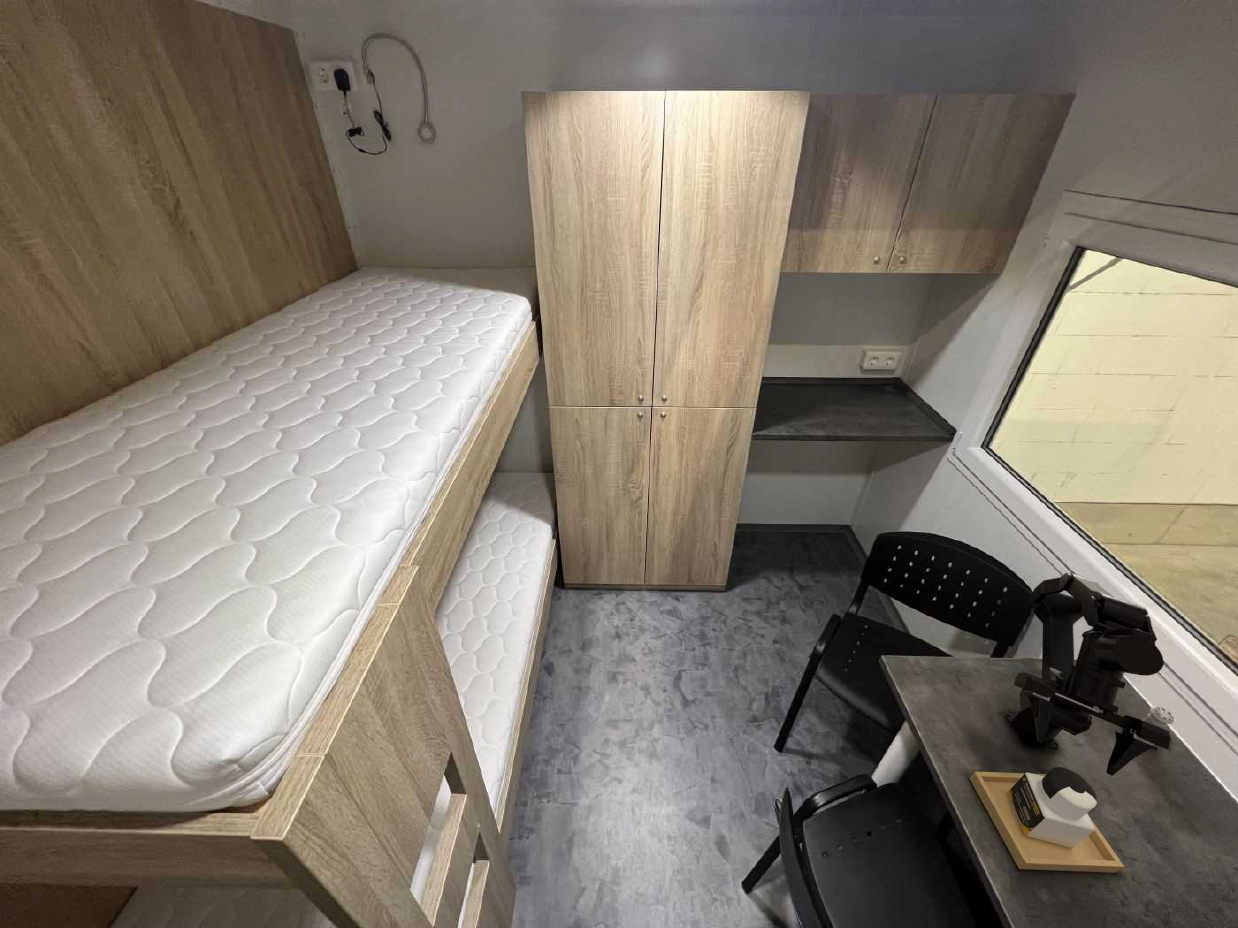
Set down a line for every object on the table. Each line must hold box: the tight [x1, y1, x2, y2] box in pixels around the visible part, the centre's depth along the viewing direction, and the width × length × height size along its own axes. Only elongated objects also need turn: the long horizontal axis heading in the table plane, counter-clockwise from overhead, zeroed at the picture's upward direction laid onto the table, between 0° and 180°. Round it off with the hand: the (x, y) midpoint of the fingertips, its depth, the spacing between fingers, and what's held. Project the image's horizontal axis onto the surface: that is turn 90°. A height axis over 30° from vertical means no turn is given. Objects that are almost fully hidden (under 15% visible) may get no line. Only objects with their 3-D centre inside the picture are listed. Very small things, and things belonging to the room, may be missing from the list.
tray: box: [969, 771, 1125, 874], centre depth 83 cm, size 16×14×2 cm
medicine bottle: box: [1008, 766, 1098, 848], centre depth 80 cm, size 7×7×12 cm
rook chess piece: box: [1142, 706, 1175, 729], centre depth 95 cm, size 4×4×8 cm
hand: (1073, 757), depth 80 cm, fingers open, 9 cm apart
